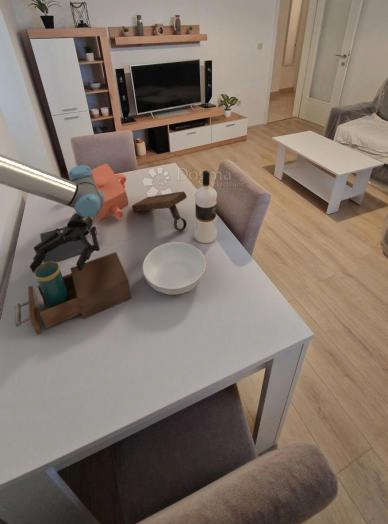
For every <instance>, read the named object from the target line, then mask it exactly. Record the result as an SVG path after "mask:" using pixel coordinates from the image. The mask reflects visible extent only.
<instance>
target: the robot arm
mask: <svg viewBox="0 0 388 524" xmlns="http://www.w3.org/2000/svg"><path fill="white" fill-rule="evenodd" d="M91 170H92V169H91V167H90V166H88V165H85V164H81V165H76V166H74V167H72V168H71V169H69V171H68V177H69V180H68V179H66V178H64V177H61V176H58V175H56V174H53V173H50V172H48V171H45V170H42V169H40V168H37V167H35V166H32V165H30V164H27V163H25V162H22V161H19V160H17V159H14V158H11V157H9V156H7V155H4V154H1V153H0V185H2V186H6V187H9V188H11V189H15V190H18V191H21V192H25V193H27V194H30V195H33V196H37V197H40V198H43V199H45V200H49V201H52V202H55V203H58V204H61V205H65V206H67V207H70V208H72V209H74V210H75V211H74V212H73V213H72V215H71V217H70V218H69V220H68V222H67V225H66V226H67V228H66V229H64V230H59V228H60V227H59V228H58V227H57V228H55V229H54V230H55V231H54V232H53V233H52V234H51V235H49V236H48V237H47V238H45V239H44V240H43V241H41V240H40V242H39V243H37V244H36V245H35V246H33V250H34V252H35V255H34V256H33V257H32V260H33V261H32V262H31V264H30V265H29V268H30V270H31V272H32V273H33V274H34V273H35V270H36V269H37V268H38V267H39V266H40V265H42V264H43V263H44V262H43V260H44V259H45V257H46V255H45V254H47V253H48V252H50V251H51V250H53V249H55V248H56V247H58V246H60V245H61V244H65V243H67V242H72V241H75V242H76V241H79V240H81V242H82V243H83V244H84V245H85V247H84V249H83V251H82V253H81V254H79V257H78V259H77V261H76V264H75V265H76V266H77V267H78V270H79V271H82V268H83V266H84V264H85V263H86V262H87V261H90V259H91V256H92V254H93V253H94V252H99V251H100V250H101V248H100V244H99V240H98V236H97V234H98V230H97V227H96V226H95V225H94V223H95V221H96V219H97V214H98V213H99V211H100V209H101V208H102V206H103V203H104V199H105V198H104V195H103V194H102V193H101V191H99V190H97V187H96V184H95V181H94V177H93V174H92V172H91ZM93 225H94V226H93ZM88 235H90V236H91V240H92V243H93V244H92V243H90V241H89V240H88V239H87V236H88ZM63 236H64V237H65V240H64V239H63Z"/></svg>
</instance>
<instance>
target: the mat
mask: <svg viewBox="0 0 388 524" xmlns="http://www.w3.org/2000/svg"><path fill="white" fill-rule="evenodd" d="M66 228H67V225H66V226H62V227H59V230H64V229H66ZM55 230H56V229H52V230H48V231H46V232H42V233H40V234H39V235H40V242H41V241H43V240H44V239H45V238H47V237H48V236H49V235H51V234H52V233H53V232H54V231H55ZM63 239H64V240H65V237H64V236H63ZM84 247H85V245H84V244H83V243H82V242H81V240H79V241H76V242H75V241H72V242H67V243H65V244H61V245H60V246H58V247H56V248H55V249H53V250H51V251H50V252H48V253H47V254H45V255H46V257H45V259H44V260H43V262H42V263H46V262H50V261H54V262H57V261H58V262H61V261H65V260H68V259H70V258H73V257H76V256H78V255H79V256H80V255H81V253H82V251H83V249H84ZM58 262H57V263H58Z"/></svg>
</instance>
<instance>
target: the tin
mask: <svg viewBox="0 0 388 524" xmlns="http://www.w3.org/2000/svg"><path fill="white" fill-rule="evenodd" d="M33 274H34V277H35V279H36V281H37V283H38V285H40V288H41V290H42V293H43V295H44V297H45V300H46V302H47V304H48V307H49V308H52V307H54V306H57V305H59V304H62V303H64V302H67V301H69V300H71V299H70V296H69V293H68V291H67V288H66V285H65V282H64V279H63V276H64V275H63V273H62V270H61V266H60V264H59V262H54V261H50V262H46V263H44V262H42V264H41V265H40V266H39V267H38V268H37V269H36V270H35V273H33Z"/></svg>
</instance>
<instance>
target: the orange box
mask: <svg viewBox="0 0 388 524" xmlns="http://www.w3.org/2000/svg"><path fill="white" fill-rule="evenodd" d="M91 172H92V174H93V177H94V181H95V184H96V187H97V190H99V191H101V193H102V194H103V195H104V198H105V199H104V203H103V206H102V208H101V209H100V211H99V213H98V214H97V217H96V219H97V220H98V221H102V220H104V219H105V218H107V217H109V216H114V217H115V219H117V220H120V219H122V218H123V217H124V212H123V211H122V209H124V208H126V207H128V206H129V199H128V194H127V192H126V189H125V188H126V184H125V183H126V181H127V176H126V174H124V173H118V174H116V173H115V172H114V170H113V169H112V168H111V166H110V165H109V164H108V163H106V162H105V163H103V164H102V165H100V166H99V165H98V166H96V167H94V168H92V169H91Z"/></svg>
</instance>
